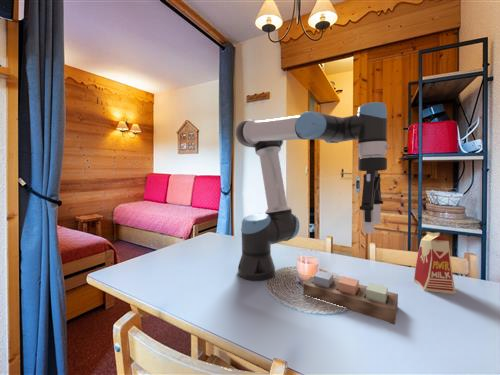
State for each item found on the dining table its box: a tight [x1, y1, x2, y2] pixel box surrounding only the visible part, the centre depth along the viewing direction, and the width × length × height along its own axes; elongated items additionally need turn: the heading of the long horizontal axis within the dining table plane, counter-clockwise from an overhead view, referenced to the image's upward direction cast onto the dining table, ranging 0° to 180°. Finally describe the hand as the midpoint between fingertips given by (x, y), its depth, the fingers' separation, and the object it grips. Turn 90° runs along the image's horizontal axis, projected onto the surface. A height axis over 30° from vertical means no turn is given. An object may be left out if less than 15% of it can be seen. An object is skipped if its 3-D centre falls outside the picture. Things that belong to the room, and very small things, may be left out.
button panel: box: [302, 276, 399, 325], centre depth 76 cm, size 26×10×4 cm, turn 54°
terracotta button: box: [338, 275, 360, 296], centre depth 75 cm, size 5×5×4 cm
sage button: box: [366, 282, 389, 304], centre depth 71 cm, size 5×5×4 cm
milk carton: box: [413, 231, 457, 295], centre depth 84 cm, size 9×9×20 cm
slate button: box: [313, 270, 334, 288], centre depth 80 cm, size 5×5×4 cm
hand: (372, 228), depth 72 cm, fingers open, 13 cm apart
